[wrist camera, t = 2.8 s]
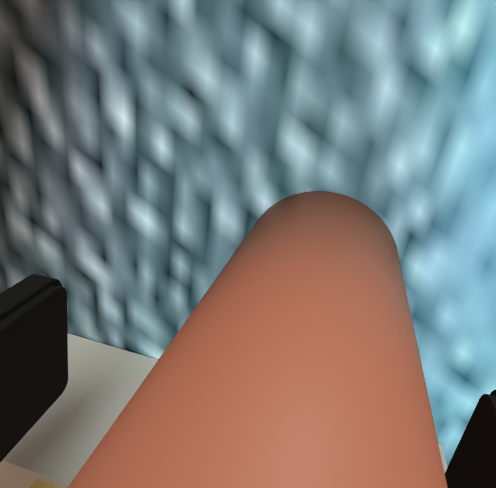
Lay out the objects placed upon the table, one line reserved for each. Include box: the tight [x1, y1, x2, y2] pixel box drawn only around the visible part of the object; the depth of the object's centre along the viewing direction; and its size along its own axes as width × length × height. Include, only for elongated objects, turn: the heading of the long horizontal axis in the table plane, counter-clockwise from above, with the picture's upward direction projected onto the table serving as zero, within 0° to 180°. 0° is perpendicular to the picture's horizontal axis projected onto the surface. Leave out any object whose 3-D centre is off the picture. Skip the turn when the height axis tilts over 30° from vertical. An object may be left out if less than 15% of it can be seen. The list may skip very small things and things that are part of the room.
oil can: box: [68, 191, 448, 488], centre depth 9 cm, size 5×5×13 cm
